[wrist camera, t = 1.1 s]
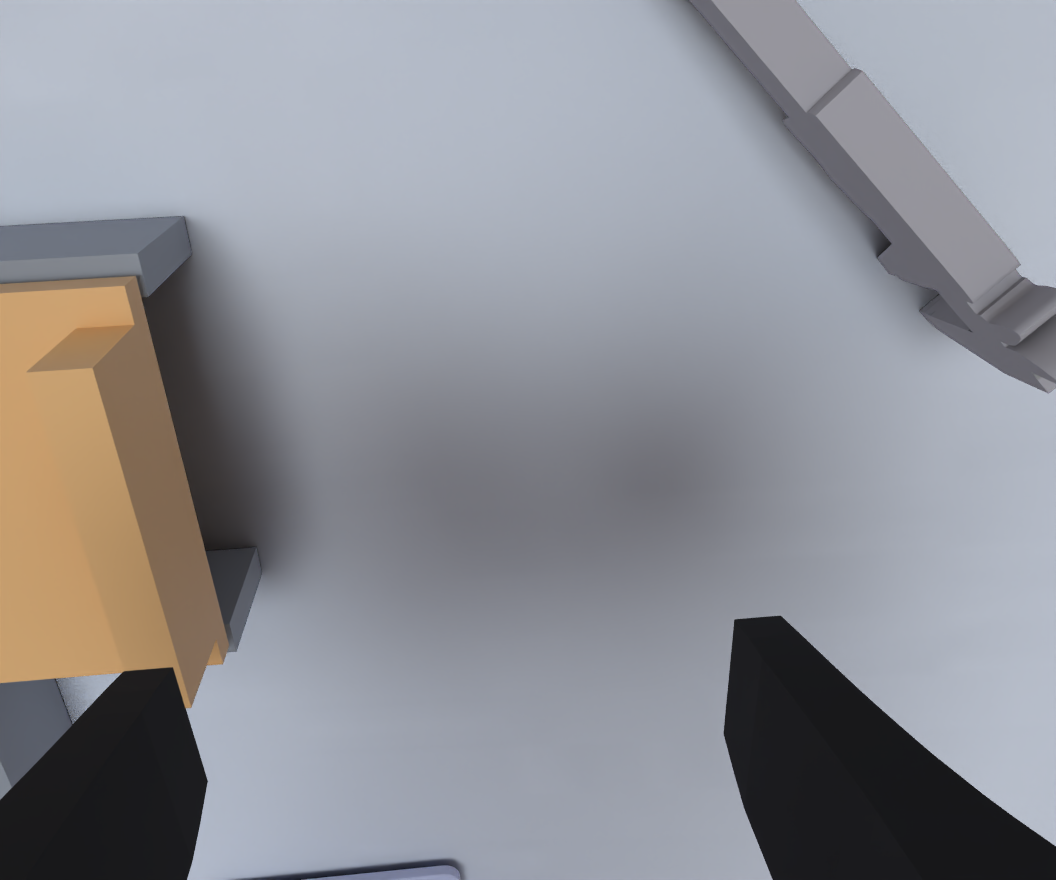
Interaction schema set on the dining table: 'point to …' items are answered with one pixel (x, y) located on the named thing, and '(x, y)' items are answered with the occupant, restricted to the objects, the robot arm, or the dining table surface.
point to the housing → (152, 256)
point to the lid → (95, 495)
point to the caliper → (896, 188)
